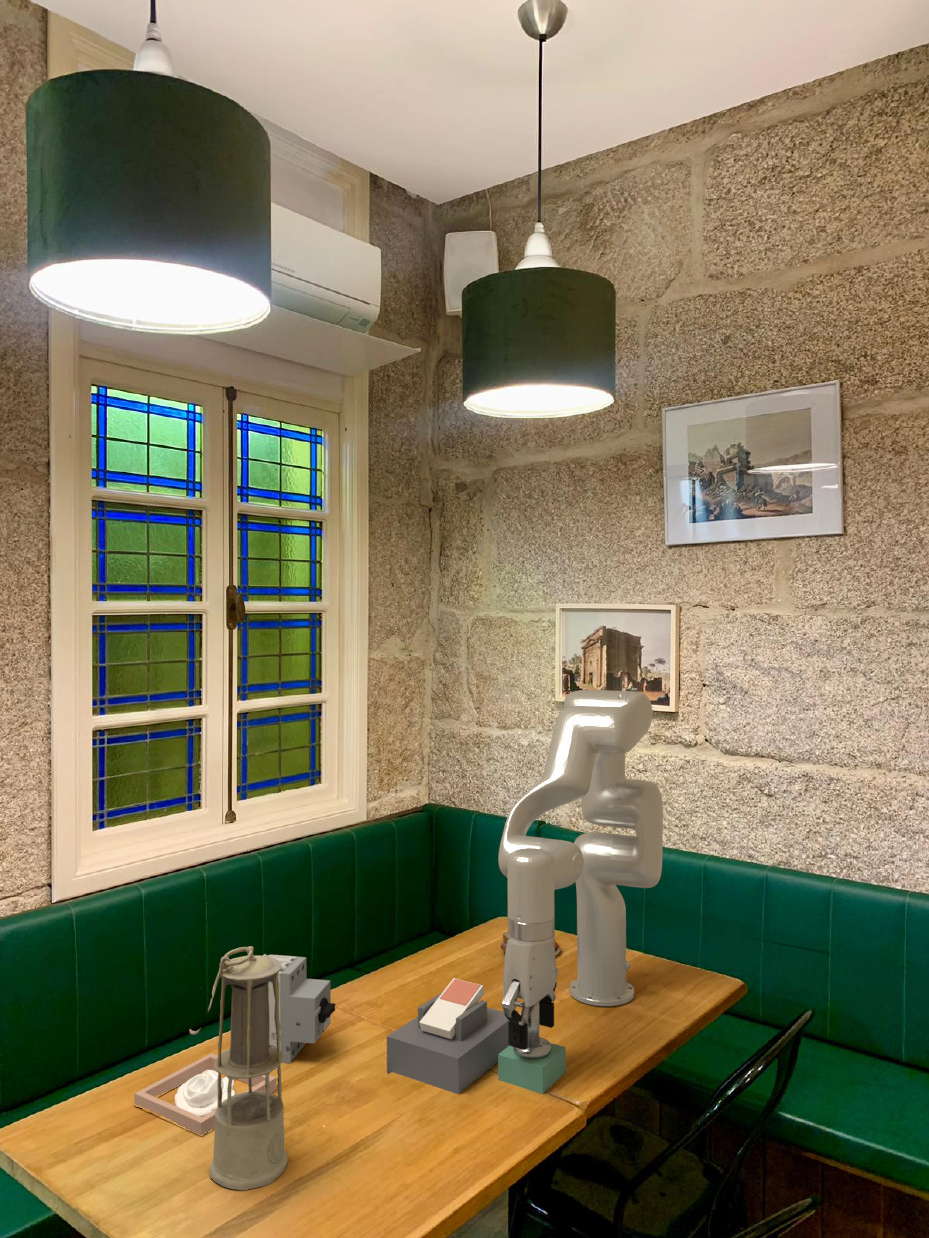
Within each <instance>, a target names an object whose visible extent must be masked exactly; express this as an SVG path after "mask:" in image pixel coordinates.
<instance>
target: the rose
mask: <svg viewBox="0 0 929 1238" xmlns="http://www.w3.org/2000/svg"><path fill="white" fill-rule="evenodd" d="M218 1073H219V1072H217V1071H214V1070H212V1069H210V1070H206V1071H204V1072H203V1073H202V1074H199V1075H196V1076H194V1077H193V1078H191V1079H189V1080H188V1081H187V1082H186V1083H184V1084H182V1085H181V1086H179V1087H177V1091H176V1093H175V1095H174V1106H177V1107H179V1108H181V1109H184V1110H186V1111H188V1112H191V1113H193V1114H195V1115H197V1116H200V1117H204V1116H205V1115H207V1114H209V1113H210V1112H212V1111H214V1110H215V1109H217V1107H218V1084H217V1079H218ZM221 1079H222V1080H221V1088H222V1102H223V1101H224V1100H226V1099H227V1095H228V1094H227V1088H228V1080H229V1079H228V1078H227V1076H225V1077H221ZM234 1086H235V1079H234V1080H232V1088H231V1096H234V1095H236V1091H235V1089H234Z"/></svg>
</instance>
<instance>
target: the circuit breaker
mask: <svg viewBox="0 0 929 1238" xmlns="http://www.w3.org/2000/svg"><path fill="white" fill-rule="evenodd" d="M262 956H268V957H272V958H275V959H277V960H279V961H280V962H281V965H282V968H281V969H280V971H279V974H278V982H279V1022H280V1027H281V1028H280V1050H281V1051H282V1052H283V1054H284V1059H283V1062H282V1063H281V1064H289V1065H290V1064H291V1063H292V1062H293V1061H294V1059H295V1057H297V1055H298V1053H300V1051H301V1050H302V1049H303V1048H304V1046H305V1045H306V1044H315V1043H316V1042H317V1041H318V1040H319V1039H320V1037H322V1035H323V1033H324V1032H325V1031H326V1029H327V1028H328V1027H329V1025H330V1024H331V1020H332V1019H331V1016H332V1014H333V1013H334V1012H336V1003H335V1002H334V1003H333V1002H331V1001H332V1000H331V980H328V979H326V980H325V979H316V978H315V979H314V978H307V957H304V956H296V955H295V956H294V955H293V956H292V955H281V954H280V955H279V954H269V955H267V954H266V953H264V954H263V955H262ZM268 986H269V1025H270V1030H269V1043H270V1045H272V1046H275V1047H277V1033H276V1026H275V1019H274V1015H275V997H274V991H273V983H272V982H270V981H269V984H268ZM272 1048H274V1047H272Z"/></svg>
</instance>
